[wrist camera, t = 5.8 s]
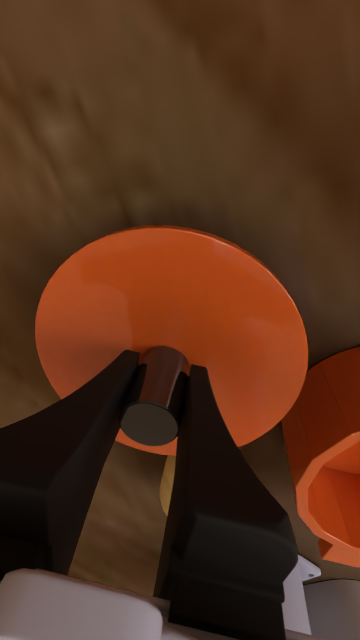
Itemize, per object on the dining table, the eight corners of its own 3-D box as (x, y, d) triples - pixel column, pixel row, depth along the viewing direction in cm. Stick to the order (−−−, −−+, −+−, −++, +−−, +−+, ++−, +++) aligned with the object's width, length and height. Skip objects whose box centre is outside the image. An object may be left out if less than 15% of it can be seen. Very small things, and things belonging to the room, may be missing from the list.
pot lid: (51, 412, 18) (2, 487, 14) (40, 192, 12) (-51, 213, 8) (256, 459, 17) (265, 549, 14) (351, 257, 12) (416, 313, 8)
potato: (217, 486, 25) (215, 551, 21) (161, 473, 25) (149, 535, 21) (240, 428, 22) (243, 491, 18) (175, 413, 22) (164, 473, 18)
